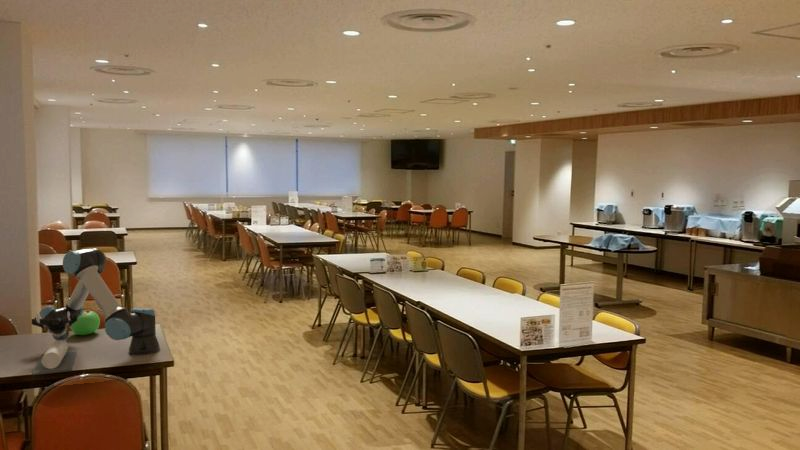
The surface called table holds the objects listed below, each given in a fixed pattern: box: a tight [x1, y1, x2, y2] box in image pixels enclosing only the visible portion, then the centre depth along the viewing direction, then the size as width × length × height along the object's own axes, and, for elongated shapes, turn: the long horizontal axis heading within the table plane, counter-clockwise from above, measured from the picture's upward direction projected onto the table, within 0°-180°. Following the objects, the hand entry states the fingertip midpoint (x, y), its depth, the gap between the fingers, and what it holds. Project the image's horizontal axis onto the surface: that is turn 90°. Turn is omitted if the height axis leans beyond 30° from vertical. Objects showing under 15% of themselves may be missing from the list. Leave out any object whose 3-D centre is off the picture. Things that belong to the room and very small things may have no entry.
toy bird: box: [69, 309, 101, 336], centre depth 361 cm, size 18×17×15 cm
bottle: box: [42, 340, 69, 369], centre depth 310 cm, size 8×8×28 cm
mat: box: [32, 350, 78, 376], centre depth 308 cm, size 32×16×1 cm, turn 23°
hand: (52, 315), depth 305 cm, fingers open, 13 cm apart
